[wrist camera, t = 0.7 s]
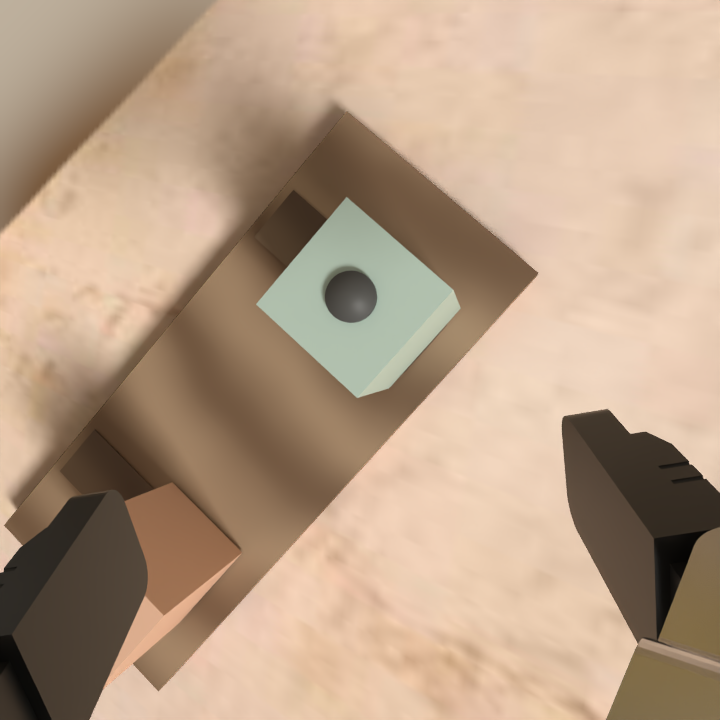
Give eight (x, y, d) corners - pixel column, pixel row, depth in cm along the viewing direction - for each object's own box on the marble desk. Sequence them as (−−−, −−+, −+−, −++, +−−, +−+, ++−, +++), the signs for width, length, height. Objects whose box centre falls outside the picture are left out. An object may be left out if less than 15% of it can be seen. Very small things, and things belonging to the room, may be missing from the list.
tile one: (460, 308, 30) (453, 288, 22) (389, 388, 30) (355, 398, 22) (381, 239, 31) (344, 194, 22) (312, 318, 31) (253, 303, 23)
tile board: (352, 122, 33) (346, 110, 31) (535, 277, 31) (538, 272, 29) (23, 518, 36) (2, 525, 34) (172, 676, 34) (157, 692, 33)
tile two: (242, 552, 32) (159, 619, 24) (179, 623, 32) (77, 711, 24) (172, 482, 32) (68, 522, 24) (112, 552, 33) (-9, 615, 25)
